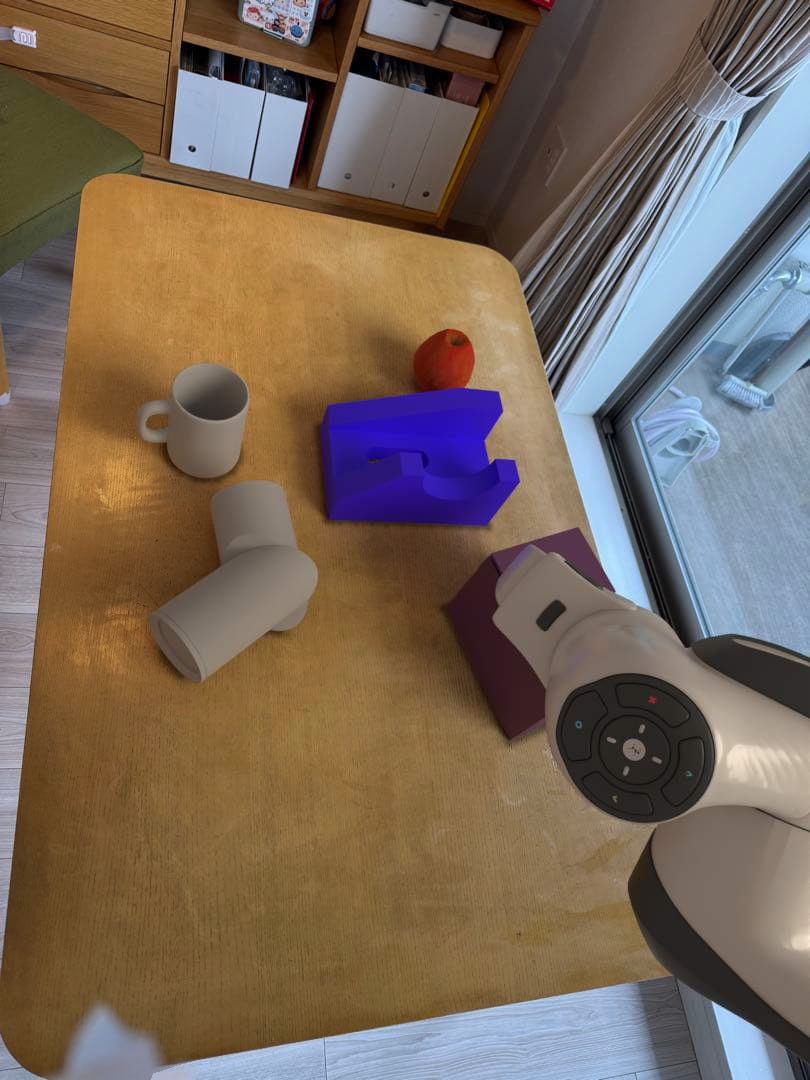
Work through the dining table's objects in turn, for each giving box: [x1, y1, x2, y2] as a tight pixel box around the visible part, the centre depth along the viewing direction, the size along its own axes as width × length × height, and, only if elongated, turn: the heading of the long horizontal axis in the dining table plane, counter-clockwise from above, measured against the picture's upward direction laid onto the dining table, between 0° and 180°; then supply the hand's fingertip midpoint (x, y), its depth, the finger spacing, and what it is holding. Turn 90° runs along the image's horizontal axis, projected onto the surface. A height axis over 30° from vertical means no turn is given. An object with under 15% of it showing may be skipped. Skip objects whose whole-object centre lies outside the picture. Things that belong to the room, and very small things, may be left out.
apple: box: [412, 328, 476, 392], centre depth 105 cm, size 8×8×11 cm
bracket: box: [319, 387, 521, 526], centre depth 96 cm, size 21×14×10 cm, turn 98°
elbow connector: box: [147, 479, 319, 684], centre depth 81 cm, size 18×11×20 cm
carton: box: [444, 526, 617, 741], centre depth 86 cm, size 17×12×14 cm
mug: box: [136, 362, 251, 479], centre depth 88 cm, size 12×8×11 cm
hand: (611, 634), depth 64 cm, fingers open, 8 cm apart
